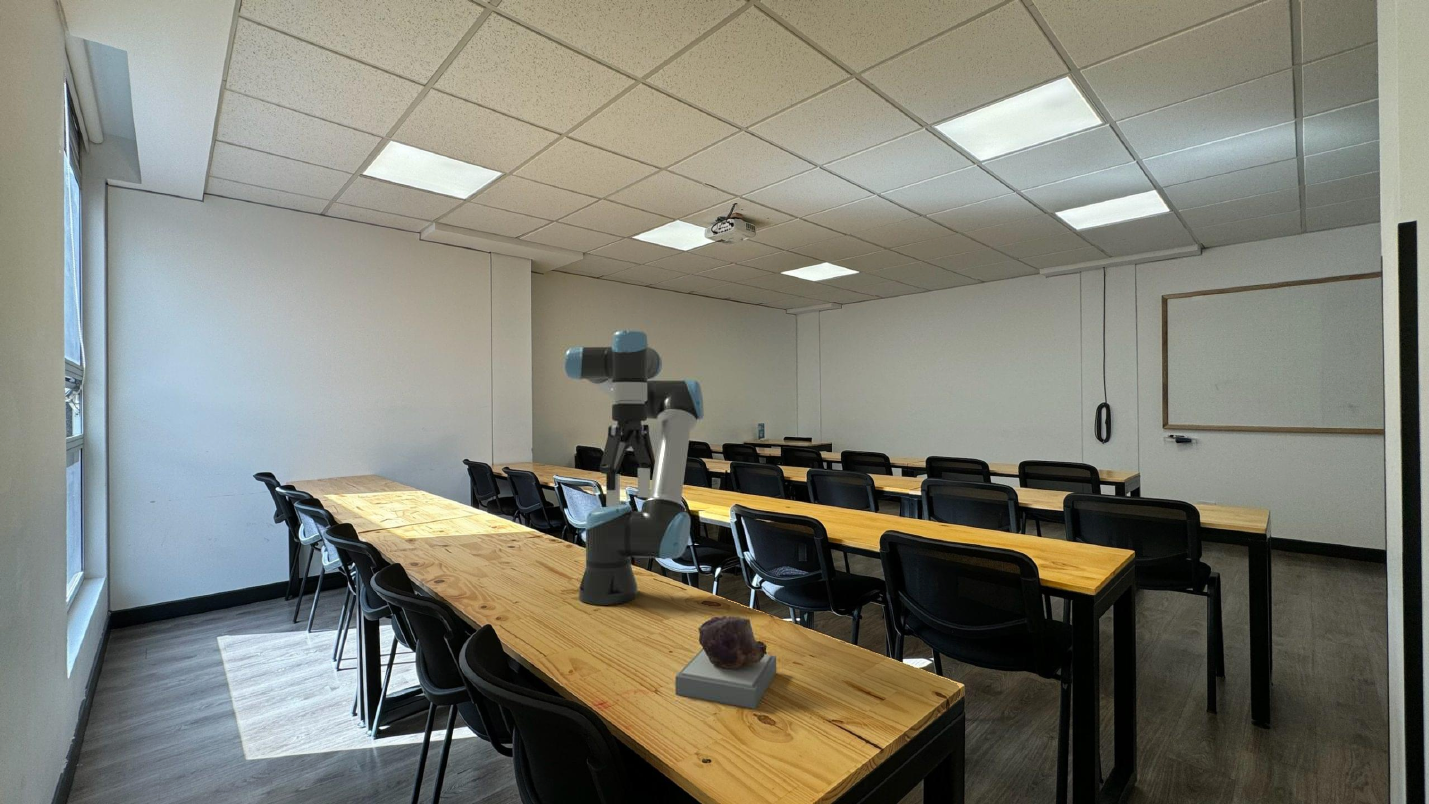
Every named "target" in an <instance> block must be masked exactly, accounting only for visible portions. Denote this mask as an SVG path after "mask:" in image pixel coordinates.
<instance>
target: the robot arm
mask: <svg viewBox="0 0 1429 804" xmlns="http://www.w3.org/2000/svg"><path fill="white" fill-rule="evenodd" d="M563 365H564V370H565V371H564V372H565V373H566V375H567V377H568V378H570V379H573V380H587V381H589V382H590V383H592V384H593V385H595V386H596V387H597V388H598V389H600V390H601V391H603V392H604V393H606V394H607V395H609V396H610V397H612V401H613V402H614V403H613V404H612V405H611V419H612V420H613V421H614V422H617V424H616V425H608V428H607V429H608V430H607V439H606V443H605V447H604V449H603V450H604V451H603V454H602V456H601V457H602V458H601V462H600V465H599V471H600V473H601V474H603V475H606V476H605V477H606V478H605V482H606V485H605V488H606V489H605V490H606V493H605V495H606V497H605V498H606V499H605V501H606V502H605V505H606V506H603V507H598V508H594V509H592V510H591V511H589V512H588V513H587V514H586V522H585V569H584V572H583V575H582V578H581V582H580V584H579V587H578V599H579V601H581V602H583V603H585V604H589V605H595V606H608V605H609V606H610V605H620V604H624V603H627V602H630V601H633V600H635V598H637V597H638V592H639V591H638V587H639V586H638V583H637V580H636V576H635V573H634V570H633V567H632V558H644V559H645V558H646V559H661V560H667V559H678V558H680V557H681V556H682V555H683V554H684V552H685V551H686V548H687V546H688V543H689V538H690V535H691V533H690V532H691V517H690V515H689V513H688V512H686V511H687V510H686V507H685V506H684V504H683V503H682V498H683V497H682V496H683V495H682V494H683V488H684V483H685V482H684V481H685V473H686V466H687V465H686V464H687V459H688V458H687V457H688V450H689V443H690V436H691V434H690V433H691V430H693V429H695V427H696V425H697V421H698V420H699V421H700V420H702V419H703V418H704V413H705V411H704V401H703V393H702V392H703V391H702V388H701V387H702V386H701V385H700V382H698V381H697V380H688V379H684V380H656V379H655V380H652V379H653V378H655V377H657V376H658V375H659V374H660V372H661V370H662V369H663V368H662V367H663V361H662V357H661V355H660V354H659V353H658V351H656V349H653V348H652V347H650V346H649V343H648V334H646V332H644V331H640V330H619V331H616V332H615V333H614V334H613V336H612V344H611V346H581V347H580V346H579V347H578V346H577V347H571V348H569V349H568V350H567V351H566V353H565V356H564V363H563ZM648 419H649V420H650V419H652V420H657V423H658V424H659V425H660V428H659V429H660V430H659V436H658V444H657V448H656V449H657V450H656V454H655V455H654V450H653V445H652V440H651V437H650V428H649V427H650V426H649V424H642V422H645V421H647V420H648ZM629 448H632V450H633V453H634V456H635V457H636V461H637V463H638V465H639V467H638V468H637V498H647V499H645V500H644V501H643V502H642V504H641V505H642V506H641V510H639V511H637V510H635V511H634V510H633V508H632V506H631V505H630V504H621V503H620V502H621V501H620V500H621V492H620V491H621V474H619V473H618V471H619V469H620V468H621V465H622V462H623V460H624V458H625V455H626V452H627V449H629ZM651 469H653V473H652V478H651Z"/></svg>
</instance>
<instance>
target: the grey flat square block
mask: <svg viewBox="0 0 1429 804" xmlns="http://www.w3.org/2000/svg"><path fill="white" fill-rule="evenodd" d="M776 674H777V656H776V655H771V654H767V653H765V654H764V657H763V659H761V661H760V662H758V663H753V664H749V665H742V666H741V667H740V668H736V667H735V668H731V669H730V668H725V669H723V668H722V667H719V666H715V665H713V664H712V663H711V662H710V661H709V658H708V656H707V655H706V653H705V651H704V649H703V647H702V649H700V650H699V651H698V653H696V654H695V656H693V658H692V659H691V660H689V662H687V664H685V666H684V667H683V668H682V669H681V670H680V671H679V672H678V673H677V674H676V675H675V682H674V683H675V686H674V687H675V692H674V693H675V694H674V695H677V696H683V697H688V698H694V699H699V700H703V701H704V700H705V701H709V702H715V703H721V704H726V705H730V706H736V707H743V708H747V709H753V710H756V708H757V706H758V704H759V703H760V701H761V699H762V697H764V695H765V693H766V691H767V689H768V687H769V685H770V684H771V682H772V681H773V679H774V677H775V675H776Z"/></svg>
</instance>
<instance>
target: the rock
mask: <svg viewBox="0 0 1429 804" xmlns="http://www.w3.org/2000/svg"><path fill="white" fill-rule="evenodd" d="M698 633H699V636H698V641H699V645H700V646H701V647H702V648H703V649H704V651H705V653H706V655H707V656H708V658H709V661H710V662H711V663H712V664H713V665H715V666H719V667H722V668H723V669H725V668H730V669H731V668H735V667H736V668H740V667H741V666H742V665H749V664H753V663H758V662H760V661H761V659H763V657H764V654H767V644H766V643H765V642H763V641H761V640H756V639H755V636H754V632H753V628H752V625H751V620H750V619H749V618H744V617H740V616H728V617H727V616H725V615H724V616H722V617H720V616H714V617H710V619H709V620H706V621H705V622H703V623H702V624H701V625H700V626H699V627H698Z"/></svg>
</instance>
